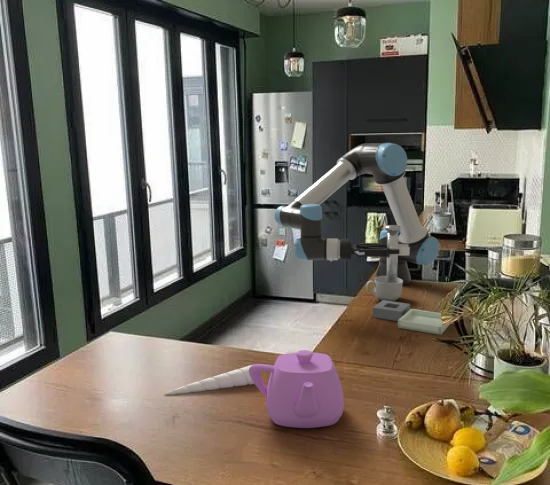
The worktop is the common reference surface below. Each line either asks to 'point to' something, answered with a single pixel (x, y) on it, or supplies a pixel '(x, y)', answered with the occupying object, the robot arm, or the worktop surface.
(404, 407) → the worktop surface
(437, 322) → the tray
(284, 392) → the teapot
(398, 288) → the teacup
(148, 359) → the worktop surface
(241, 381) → the unicorn horn
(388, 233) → the pin
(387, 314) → the socket block
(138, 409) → the worktop surface
